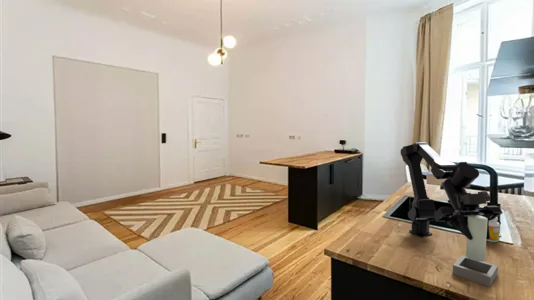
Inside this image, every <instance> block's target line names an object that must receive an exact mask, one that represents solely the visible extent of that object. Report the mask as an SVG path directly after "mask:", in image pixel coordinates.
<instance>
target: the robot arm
mask: <svg viewBox="0 0 534 300" xmlns="http://www.w3.org/2000/svg"><path fill="white" fill-rule="evenodd" d="M400 156H401V157H402V161H403V163H404V164H406V165H407V167H408V171H409V172H408V173H409V177H410V182H411V186H412V187H411V188H412V192H413V197H414V198H413V201H412V202H411V209H410V210H409V211H408V212H407V216H408V218H409V219H410V220H411V221H412V222H411V229H409V230H408V231H409V232H410V233H412V234H414V235H416V236H419V237H421V238H423V237H425V236H426V237H427V236H431V235H433V233H432V232H430V222H434V221H435V222H440V223H441V222H443V223H444V222H446V223H447V224H449V225H451V226H452V227H454V228H455V229H456V230H458V232H460V233H461V234H462V235H463V236H464V237H465V238H466V239H467V238H468V239H469V240H472V239H473V238H472V235H471V233H470V231H469V229H468V227H467V225H468V224H467V223H466V221H465V220H466V219H465V217H468V216H469V215H479V216H483V217H486V218H487V219H488V220H487V238H486V239H487V240H488V239H490V234H489V221H490V220H494V219H495V218H496V217H499V216H501V215H503V213H504V212H503V211H502V209H501V207H500V206H497V205H487V204H488V203H487V202H491V200H492V199H491V196H490V194H489V192H488V191H487V190H484V191H483V190H482V191H478V192H477V193H471V192H468V191H467V190H466V188H468V187H469V186H470V185H471V184H473V182H475V180H476V179H477V178H479V177H480V172H479V170H478V169H477V168H476V167H475V166H473V165H471V164H468V162H467V161H459V163H458V164H456V163H455V162H452V161H451V160H448V159H444V158H442V156H441V155H440V154H438V153H437V152H436V151H435V149H433V148H432V147H431V146H430V145H429V143H428V142H426V141H424V142H422V141H421V142H420V141H419V142H417V141H416V142H414V143H412V144H409V145H404V146H403V147H402V148H401V149H400ZM422 160H424V161H425V162H426V163H427V164H428V165H429V166H430V167H431V168H430V172H431V174H432V175H433V177H434V178H435V179H436V180H444V181H442V182H441V185H440V187H439V189H440V190H443V191H444V192H445V194H446V197H447V198H448V200H447V203H448V205H451V206H440V207H439V208H438V209H437V208H436V206H435V202H434V200H433V199H430V197H429V196H428V193H427V189H426V184H425V180H424V176H423V169H422V166H421V162H422ZM480 205H485V206H483V207H482V208H481V209H478V208H480V207H481V206H480ZM436 209H437V210H436ZM446 220H447V221H446Z"/></svg>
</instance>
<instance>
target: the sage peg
mask: <svg viewBox="0 0 534 300" xmlns="http://www.w3.org/2000/svg"><path fill="white" fill-rule="evenodd" d="M487 220H488V219H487V218H486V217H483V216H479V215H469V216H467V224H466V225H467V227H468V229H469V231H470V233H471V235H472V238H473V239H472V240H469V239H468V238H467V237H466V246H465V247H466V249H465V250H466V251H465V252H466V253H465V256H466V257H467V258H469V259H471V260H474V261H484V262H486V253H487V252H486V251H487V241H486V238H487Z"/></svg>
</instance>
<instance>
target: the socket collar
mask: <svg viewBox="0 0 534 300" xmlns="http://www.w3.org/2000/svg"><path fill="white" fill-rule="evenodd" d="M498 271H499V266H498V265H496V264H493V263H489V262H488V261H487V262H486V261H474V260H471V259H469V258H467V257H466V255H464V254H462V255H461V256H460V257H459V258H458V259H457V260H455V262H454V263H453V264H452V274H453V275H455V276H457V277H460V278H463V279H466V280H469V281H471V282H475V283H477V284H481V285H483V286H486V287H489V288H490V287H491V286H492V285H493V283H494V281H495V279H496V278H497V276H498Z"/></svg>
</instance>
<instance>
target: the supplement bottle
mask: <svg viewBox="0 0 534 300" xmlns="http://www.w3.org/2000/svg"><path fill="white" fill-rule="evenodd" d="M498 217H499V216H498ZM498 217H496V218H495V219H494V220H490V221H489V234H490V239H488V240H487V239H486V242H487V241H488V242H491V243H497V242H499V239H500V227H501V226H500V225H501V224H500V222H498V221H499V218H498Z"/></svg>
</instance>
